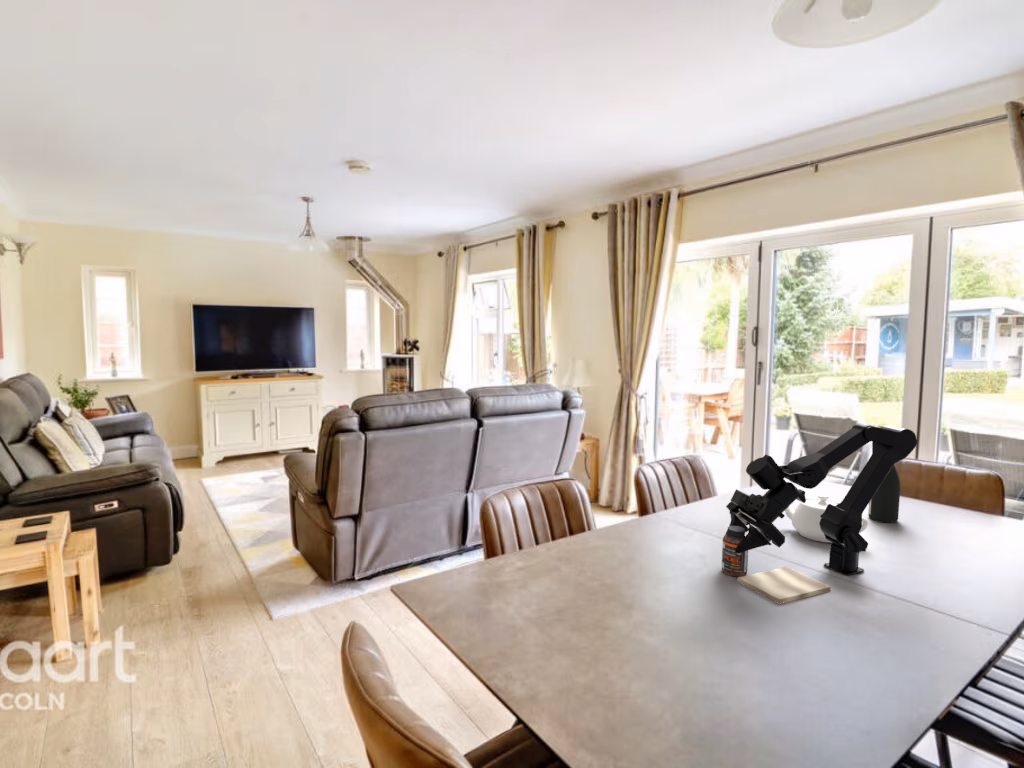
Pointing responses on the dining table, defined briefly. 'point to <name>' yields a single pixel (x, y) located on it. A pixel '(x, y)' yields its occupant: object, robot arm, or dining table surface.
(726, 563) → the supplement bottle
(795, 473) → the robot arm
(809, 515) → the teapot
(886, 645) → the dining table surface
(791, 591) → the board
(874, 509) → the wine bottle
